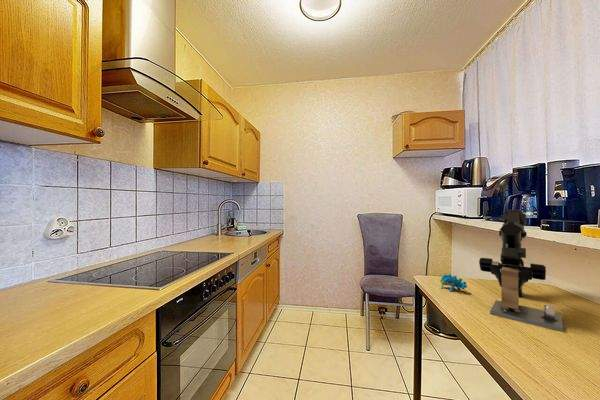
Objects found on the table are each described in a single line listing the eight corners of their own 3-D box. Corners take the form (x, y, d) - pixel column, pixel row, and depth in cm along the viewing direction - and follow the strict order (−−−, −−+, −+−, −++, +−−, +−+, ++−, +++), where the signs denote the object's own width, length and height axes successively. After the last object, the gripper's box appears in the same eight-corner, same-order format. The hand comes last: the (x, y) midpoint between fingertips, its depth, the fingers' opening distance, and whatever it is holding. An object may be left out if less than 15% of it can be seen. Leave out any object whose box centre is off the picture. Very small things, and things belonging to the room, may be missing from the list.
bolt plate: (495, 303, 101) (495, 289, 101) (561, 317, 88) (561, 302, 88) (490, 314, 90) (490, 299, 91) (563, 331, 78) (563, 314, 78)
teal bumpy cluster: (471, 288, 113) (460, 273, 111) (468, 299, 111) (456, 285, 108) (447, 284, 123) (436, 271, 120) (443, 295, 120) (432, 282, 118)
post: (502, 302, 95) (502, 266, 95) (518, 305, 92) (518, 269, 92) (501, 305, 91) (501, 269, 91) (518, 309, 88) (518, 271, 88)
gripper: (479, 236, 101) (475, 270, 93) (545, 241, 88) (547, 280, 80) (482, 254, 107) (478, 287, 98) (544, 260, 94) (546, 299, 86)
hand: (509, 288), depth 91 cm, fingers closed on post, 4 cm apart
